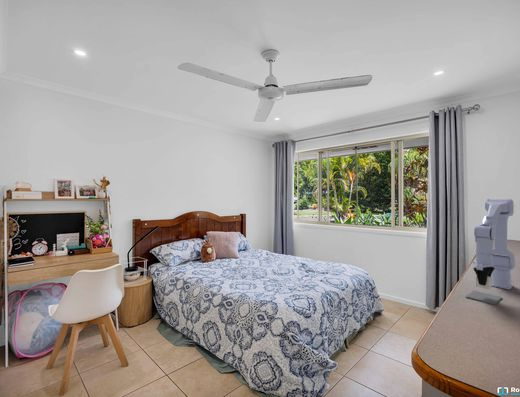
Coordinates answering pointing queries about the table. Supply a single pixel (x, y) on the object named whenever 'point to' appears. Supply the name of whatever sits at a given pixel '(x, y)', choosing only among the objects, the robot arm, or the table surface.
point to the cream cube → (488, 283)
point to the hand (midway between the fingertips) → (483, 283)
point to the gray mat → (484, 297)
